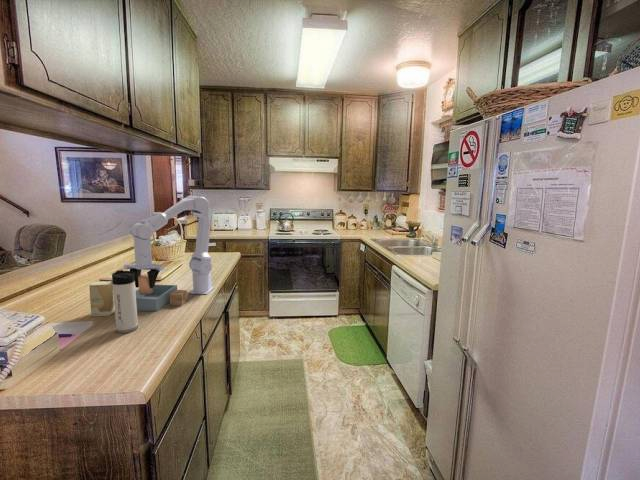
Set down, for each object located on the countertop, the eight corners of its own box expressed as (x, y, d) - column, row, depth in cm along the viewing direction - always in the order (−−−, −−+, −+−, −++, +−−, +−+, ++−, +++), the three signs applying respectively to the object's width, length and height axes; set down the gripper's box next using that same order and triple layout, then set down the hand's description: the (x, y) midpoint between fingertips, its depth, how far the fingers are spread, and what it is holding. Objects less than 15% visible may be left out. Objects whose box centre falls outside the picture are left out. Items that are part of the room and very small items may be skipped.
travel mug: (133, 323, 109) (129, 268, 105) (141, 328, 104) (137, 272, 101) (113, 328, 104) (108, 272, 100) (120, 335, 100) (115, 276, 96)
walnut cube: (175, 301, 130) (175, 289, 129) (187, 301, 130) (187, 290, 129) (170, 305, 125) (169, 293, 124) (182, 305, 125) (181, 294, 124)
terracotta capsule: (136, 294, 121) (134, 277, 119) (145, 290, 125) (144, 273, 124) (147, 295, 120) (146, 278, 119) (156, 291, 125) (155, 274, 124)
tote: (148, 294, 136) (147, 284, 135) (177, 295, 136) (177, 285, 135) (123, 310, 119) (122, 298, 118) (156, 311, 119) (156, 299, 118)
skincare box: (90, 317, 112) (87, 285, 110) (96, 312, 116) (93, 281, 114) (111, 315, 114) (108, 284, 112) (115, 311, 118) (112, 280, 116)
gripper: (118, 255, 116) (120, 289, 118) (156, 256, 116) (158, 291, 118) (129, 251, 123) (131, 284, 125) (165, 252, 123) (167, 285, 125)
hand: (145, 287), depth 122 cm, fingers closed on terracotta capsule, 5 cm apart
